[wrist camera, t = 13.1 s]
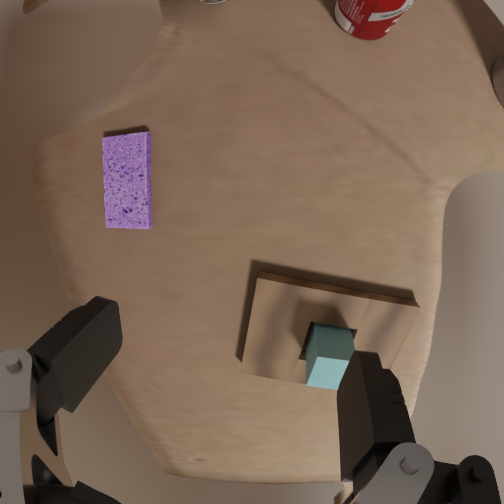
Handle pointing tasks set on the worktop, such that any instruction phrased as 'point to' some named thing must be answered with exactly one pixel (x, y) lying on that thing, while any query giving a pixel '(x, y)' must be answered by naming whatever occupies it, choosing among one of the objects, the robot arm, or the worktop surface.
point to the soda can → (369, 16)
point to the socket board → (319, 311)
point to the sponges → (127, 180)
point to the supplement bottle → (211, 1)
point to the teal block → (328, 355)
